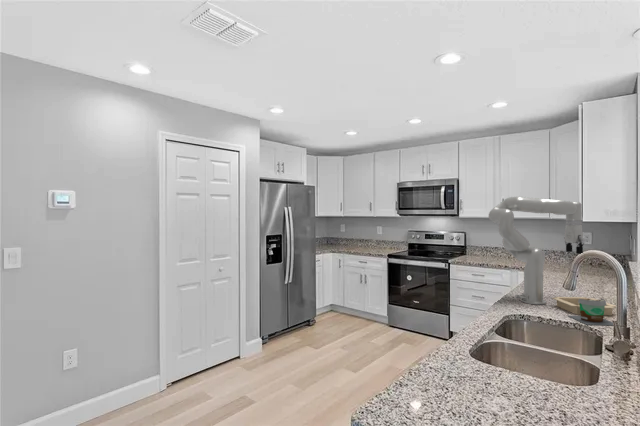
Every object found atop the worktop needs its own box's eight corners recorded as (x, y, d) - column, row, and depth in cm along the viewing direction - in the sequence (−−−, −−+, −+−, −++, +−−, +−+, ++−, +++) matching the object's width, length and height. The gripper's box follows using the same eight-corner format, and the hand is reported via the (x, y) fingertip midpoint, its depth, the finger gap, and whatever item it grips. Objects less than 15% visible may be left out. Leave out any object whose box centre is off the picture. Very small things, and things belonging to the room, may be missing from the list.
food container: (588, 323, 163) (588, 301, 163) (578, 319, 169) (577, 298, 169) (613, 322, 163) (613, 301, 164) (602, 318, 170) (602, 298, 170)
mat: (586, 325, 161) (586, 324, 161) (567, 316, 175) (567, 315, 175) (619, 325, 160) (619, 325, 160) (597, 316, 174) (597, 316, 174)
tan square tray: (574, 315, 176) (574, 306, 176) (549, 304, 198) (549, 296, 198) (621, 316, 174) (621, 307, 174) (590, 305, 196) (590, 297, 196)
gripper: (558, 223, 214) (558, 251, 214) (576, 223, 197) (576, 254, 197) (571, 222, 214) (572, 251, 214) (590, 223, 196) (591, 254, 196)
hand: (574, 252), depth 205 cm, fingers open, 9 cm apart
